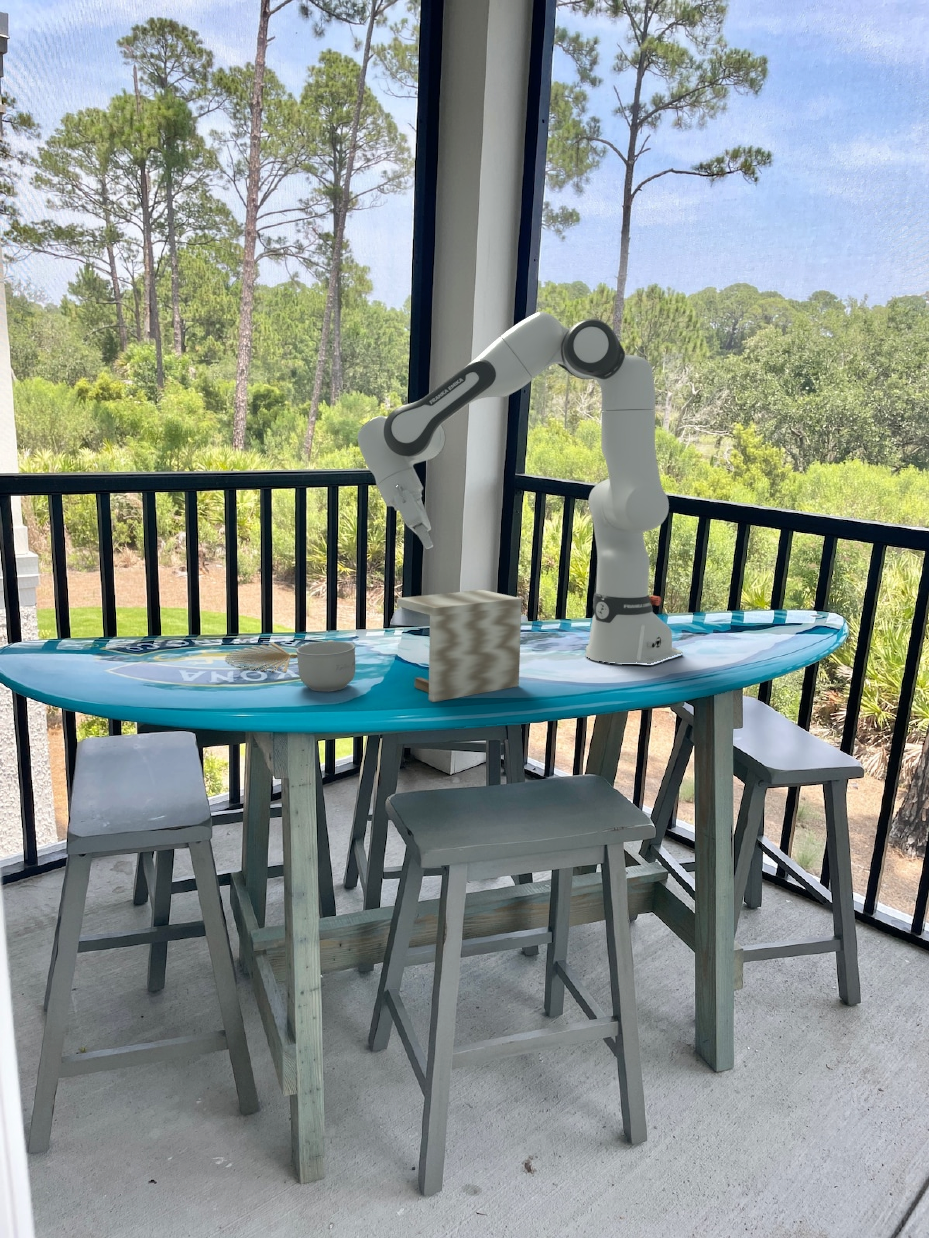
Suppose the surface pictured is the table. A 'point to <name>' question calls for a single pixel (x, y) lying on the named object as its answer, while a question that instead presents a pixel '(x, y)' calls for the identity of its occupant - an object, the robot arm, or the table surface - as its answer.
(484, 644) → the marbled side table
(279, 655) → the hand fan
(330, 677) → the teacup
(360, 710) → the table surface
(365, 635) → the table surface
